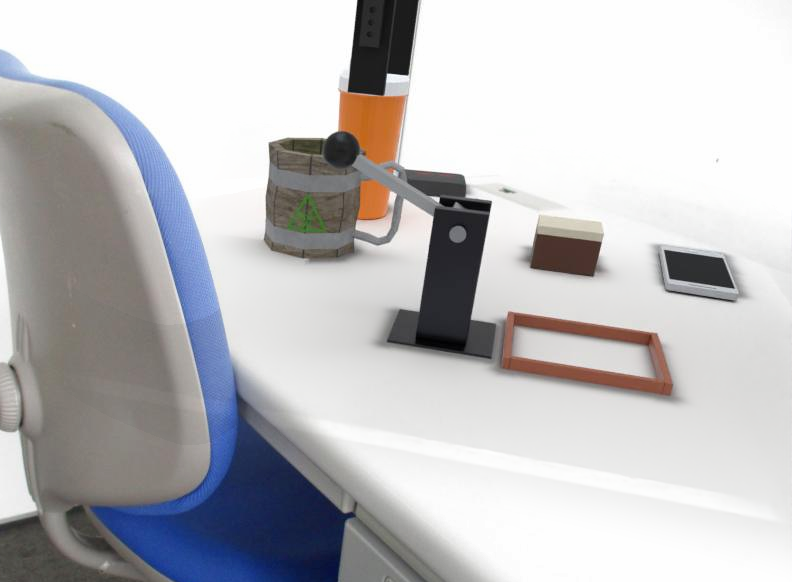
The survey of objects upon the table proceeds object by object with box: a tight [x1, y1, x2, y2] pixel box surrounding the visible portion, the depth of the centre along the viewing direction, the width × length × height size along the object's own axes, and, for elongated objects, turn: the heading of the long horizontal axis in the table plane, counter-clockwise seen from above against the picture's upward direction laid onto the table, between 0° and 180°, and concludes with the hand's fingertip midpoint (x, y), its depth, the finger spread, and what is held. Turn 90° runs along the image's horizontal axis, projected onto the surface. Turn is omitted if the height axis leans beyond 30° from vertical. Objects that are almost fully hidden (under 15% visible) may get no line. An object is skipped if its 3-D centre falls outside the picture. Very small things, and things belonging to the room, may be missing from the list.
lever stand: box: [386, 195, 497, 360], centre depth 76 cm, size 9×8×13 cm
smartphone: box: [658, 245, 739, 301], centre depth 100 cm, size 7×16×1 cm, turn 160°
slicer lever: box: [323, 130, 467, 218], centre depth 74 cm, size 15×3×3 cm, turn 75°
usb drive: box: [393, 168, 467, 198], centre depth 130 cm, size 5×12×3 cm, turn 80°
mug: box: [263, 137, 407, 259], centre depth 98 cm, size 16×11×12 cm
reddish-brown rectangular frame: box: [500, 311, 674, 396], centre depth 76 cm, size 13×11×2 cm
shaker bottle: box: [337, 58, 411, 220], centre depth 113 cm, size 9×9×20 cm
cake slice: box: [529, 214, 605, 277], centre depth 100 cm, size 7×5×5 cm
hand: (380, 83), depth 71 cm, fingers open, 13 cm apart
